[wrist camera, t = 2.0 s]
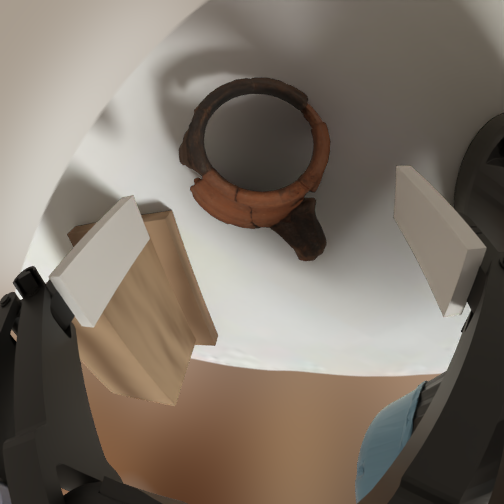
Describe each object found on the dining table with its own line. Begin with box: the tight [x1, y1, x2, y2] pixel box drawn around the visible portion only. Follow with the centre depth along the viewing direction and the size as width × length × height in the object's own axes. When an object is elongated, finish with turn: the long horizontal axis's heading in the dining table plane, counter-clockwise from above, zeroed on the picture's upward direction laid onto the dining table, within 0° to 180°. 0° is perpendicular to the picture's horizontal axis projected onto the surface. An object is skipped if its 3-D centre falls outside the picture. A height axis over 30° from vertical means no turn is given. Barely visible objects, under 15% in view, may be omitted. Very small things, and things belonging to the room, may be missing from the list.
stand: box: [46, 210, 218, 406], centre depth 24 cm, size 12×16×10 cm
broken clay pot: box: [179, 78, 330, 261], centre depth 17 cm, size 12×10×8 cm
